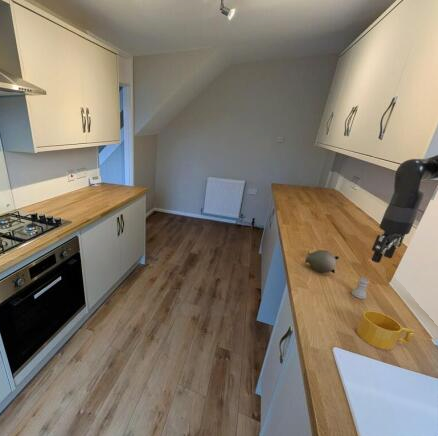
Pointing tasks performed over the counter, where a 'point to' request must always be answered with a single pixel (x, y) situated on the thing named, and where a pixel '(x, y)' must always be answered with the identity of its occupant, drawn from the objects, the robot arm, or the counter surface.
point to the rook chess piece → (361, 288)
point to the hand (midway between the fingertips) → (381, 259)
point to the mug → (381, 330)
